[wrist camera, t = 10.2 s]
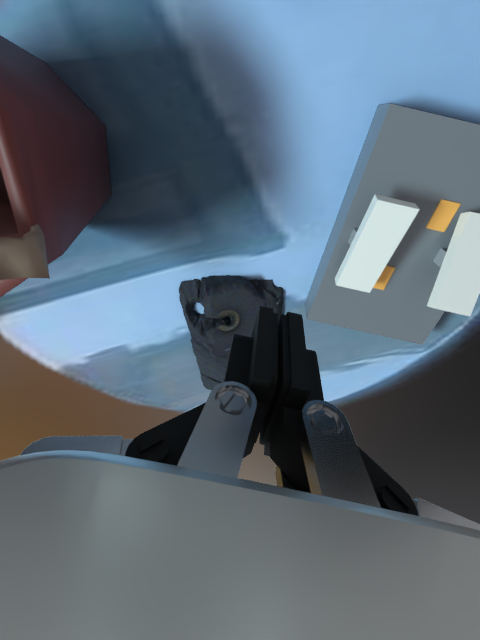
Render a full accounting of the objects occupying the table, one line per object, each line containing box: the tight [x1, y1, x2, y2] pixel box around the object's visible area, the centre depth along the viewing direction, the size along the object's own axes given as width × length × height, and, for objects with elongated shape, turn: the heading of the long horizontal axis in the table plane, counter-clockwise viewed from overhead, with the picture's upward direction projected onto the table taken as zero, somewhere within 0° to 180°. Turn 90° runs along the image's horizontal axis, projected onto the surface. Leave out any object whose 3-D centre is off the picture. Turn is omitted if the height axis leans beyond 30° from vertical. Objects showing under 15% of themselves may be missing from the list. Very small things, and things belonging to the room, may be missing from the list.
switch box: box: [305, 104, 480, 344], centre depth 35 cm, size 24×16×6 cm, turn 169°
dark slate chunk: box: [179, 275, 283, 390], centre depth 48 cm, size 15×22×5 cm
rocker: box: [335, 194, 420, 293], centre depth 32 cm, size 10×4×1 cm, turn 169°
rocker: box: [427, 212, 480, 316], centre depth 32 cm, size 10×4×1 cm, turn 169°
